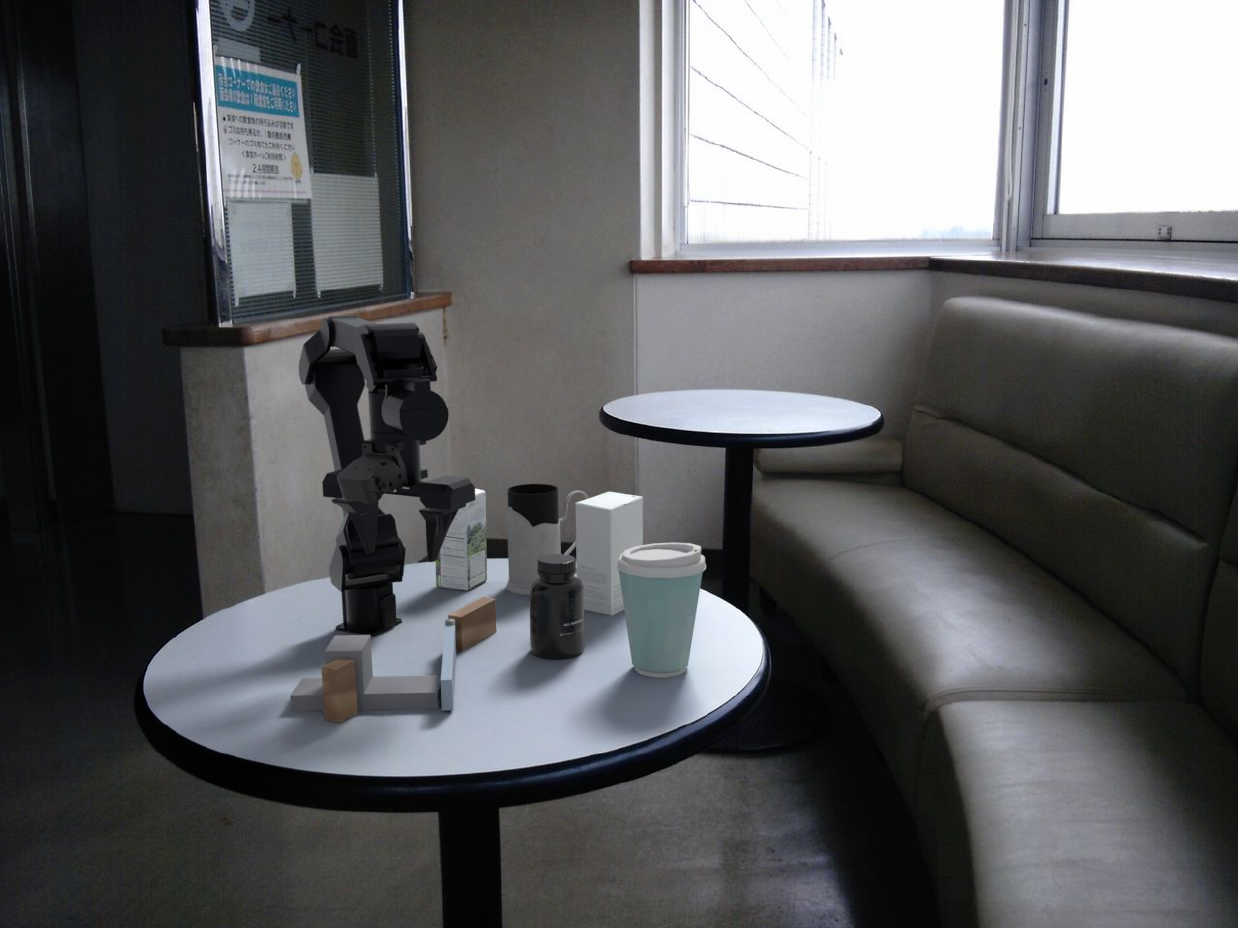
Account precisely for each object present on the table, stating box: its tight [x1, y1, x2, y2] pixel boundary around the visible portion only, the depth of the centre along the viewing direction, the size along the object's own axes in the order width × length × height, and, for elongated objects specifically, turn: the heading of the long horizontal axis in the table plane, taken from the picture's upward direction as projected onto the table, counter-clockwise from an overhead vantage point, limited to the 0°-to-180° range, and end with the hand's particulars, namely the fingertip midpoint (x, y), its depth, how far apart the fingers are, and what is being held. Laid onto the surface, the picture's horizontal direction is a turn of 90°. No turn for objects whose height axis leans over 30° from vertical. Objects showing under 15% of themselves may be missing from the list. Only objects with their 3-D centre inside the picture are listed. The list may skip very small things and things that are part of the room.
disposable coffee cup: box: [617, 541, 707, 679], centre depth 127 cm, size 11×11×15 cm
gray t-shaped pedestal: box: [289, 634, 442, 712], centre depth 120 cm, size 16×5×7 cm, turn 92°
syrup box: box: [435, 488, 488, 591], centre depth 162 cm, size 6×6×14 cm
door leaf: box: [440, 618, 457, 712], centre depth 125 cm, size 1×19×4 cm, turn 7°
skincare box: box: [574, 491, 644, 617], centre depth 151 cm, size 8×7×16 cm
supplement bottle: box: [529, 553, 585, 660], centre depth 134 cm, size 7×7×12 cm
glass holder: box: [505, 483, 590, 596], centre depth 162 cm, size 9×14×15 cm, turn 123°
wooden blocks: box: [320, 596, 497, 724], centre depth 128 cm, size 2×31×6 cm, turn 154°
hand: (400, 556), depth 130 cm, fingers open, 9 cm apart
